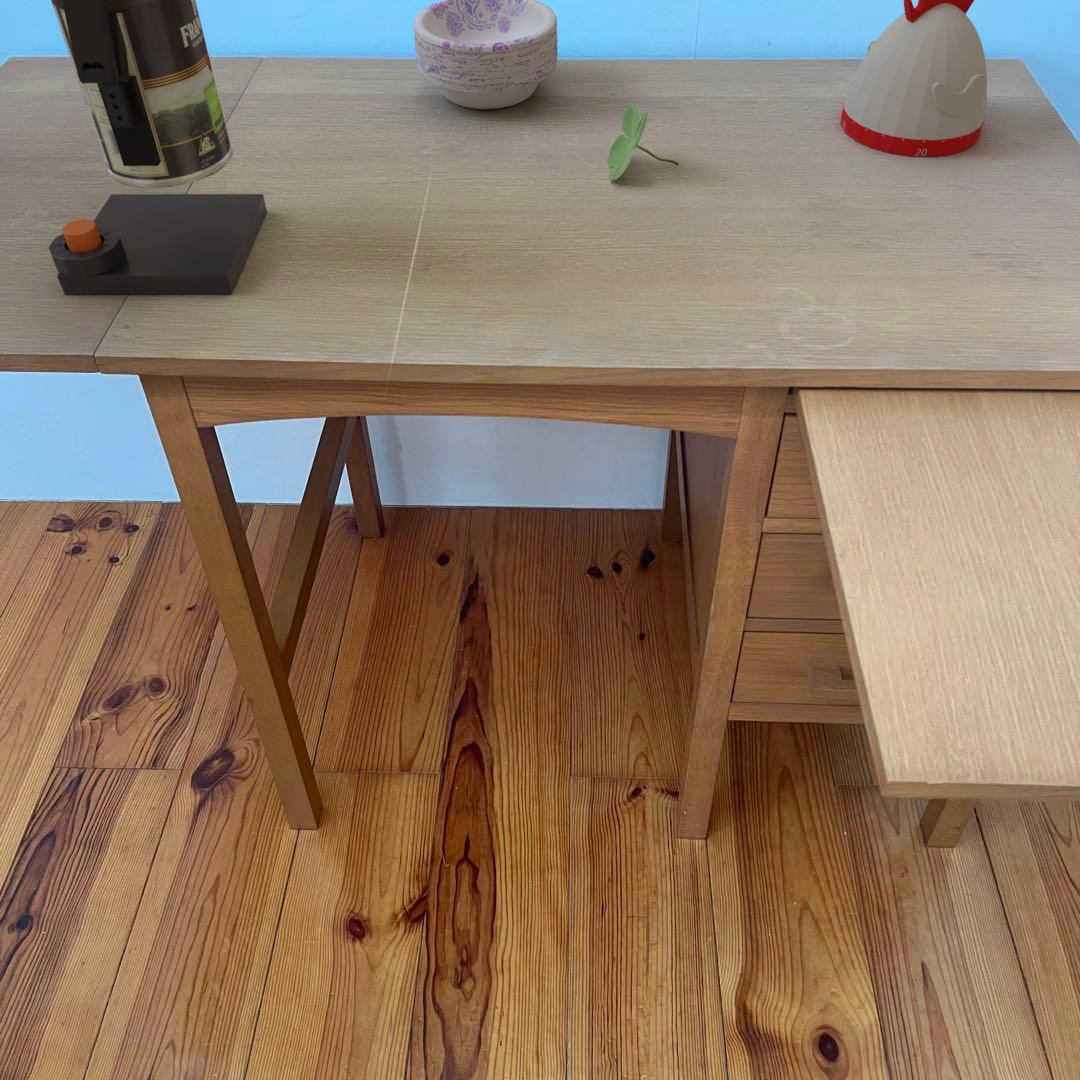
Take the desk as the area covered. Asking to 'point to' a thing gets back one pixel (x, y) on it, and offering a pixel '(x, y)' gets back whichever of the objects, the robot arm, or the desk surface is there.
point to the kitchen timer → (920, 84)
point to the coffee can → (163, 93)
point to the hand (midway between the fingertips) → (161, 133)
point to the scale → (164, 245)
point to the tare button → (81, 236)
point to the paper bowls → (486, 49)
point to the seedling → (628, 141)
